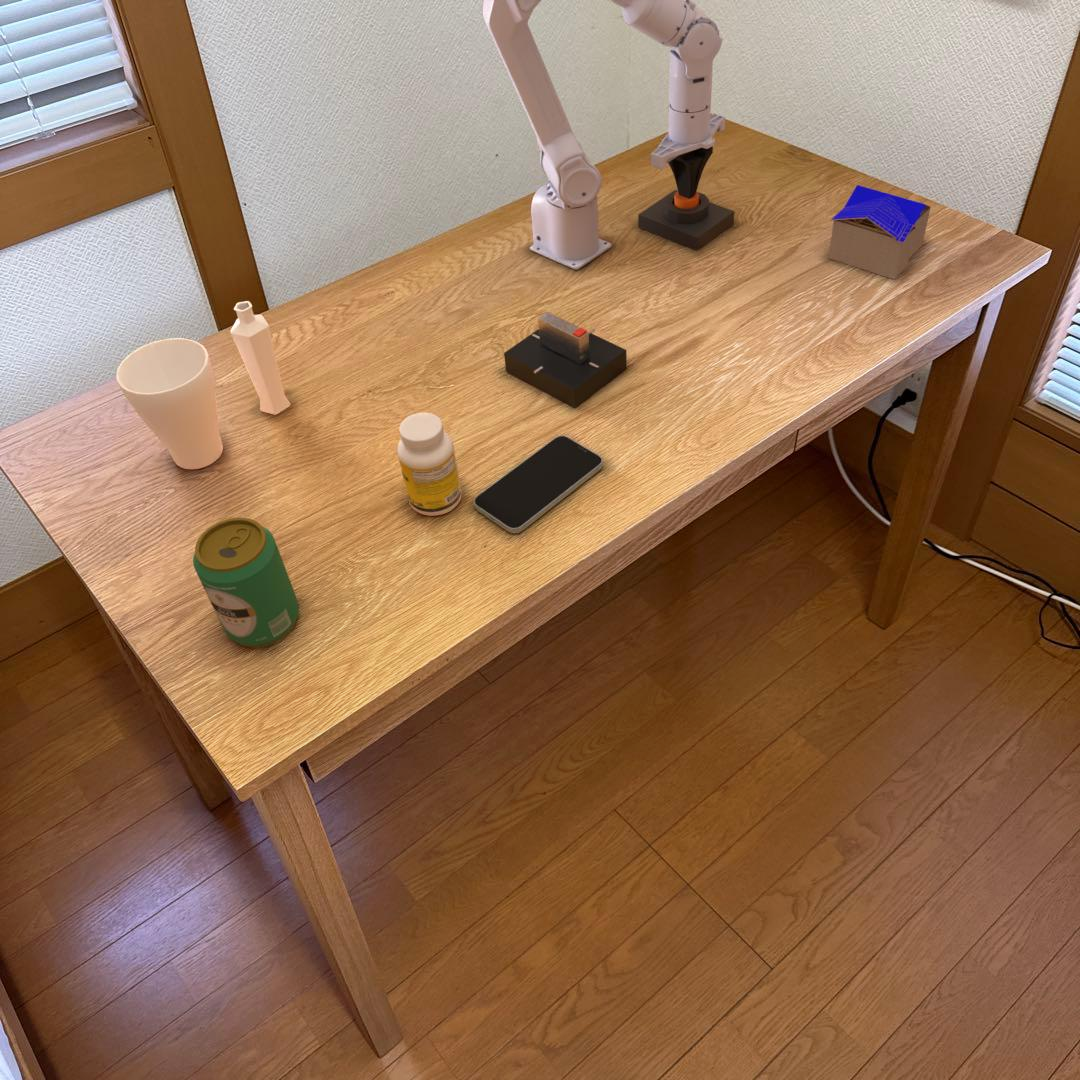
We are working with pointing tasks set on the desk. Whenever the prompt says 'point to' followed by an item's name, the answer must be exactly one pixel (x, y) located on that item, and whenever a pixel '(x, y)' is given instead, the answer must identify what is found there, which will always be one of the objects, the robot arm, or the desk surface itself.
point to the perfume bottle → (259, 357)
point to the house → (878, 231)
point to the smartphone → (538, 484)
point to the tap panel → (565, 368)
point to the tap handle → (564, 338)
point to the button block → (686, 221)
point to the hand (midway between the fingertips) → (686, 195)
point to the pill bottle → (428, 465)
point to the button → (686, 201)
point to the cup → (175, 398)
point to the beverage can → (246, 582)
